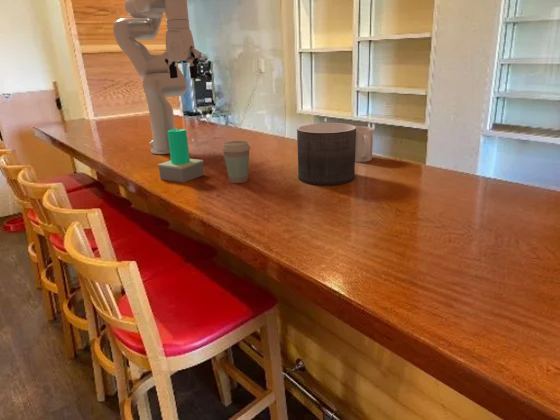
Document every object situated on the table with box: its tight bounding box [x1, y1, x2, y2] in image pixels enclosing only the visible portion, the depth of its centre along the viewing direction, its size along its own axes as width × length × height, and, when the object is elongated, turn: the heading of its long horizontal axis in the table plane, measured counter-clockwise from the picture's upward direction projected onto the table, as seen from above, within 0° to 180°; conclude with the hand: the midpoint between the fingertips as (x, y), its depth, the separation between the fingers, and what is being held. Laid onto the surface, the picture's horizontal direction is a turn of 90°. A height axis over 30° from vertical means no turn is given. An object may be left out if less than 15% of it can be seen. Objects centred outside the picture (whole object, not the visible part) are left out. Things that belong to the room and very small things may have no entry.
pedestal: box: [157, 158, 205, 184], centre depth 139 cm, size 10×10×5 cm
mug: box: [355, 126, 374, 163], centre depth 152 cm, size 10×12×11 cm
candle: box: [167, 125, 191, 164], centre depth 137 cm, size 6×6×12 cm
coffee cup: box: [222, 140, 251, 184], centre depth 131 cm, size 8×8×12 cm
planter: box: [296, 122, 357, 186], centre depth 130 cm, size 18×18×16 cm
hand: (184, 78), depth 152 cm, fingers open, 9 cm apart
